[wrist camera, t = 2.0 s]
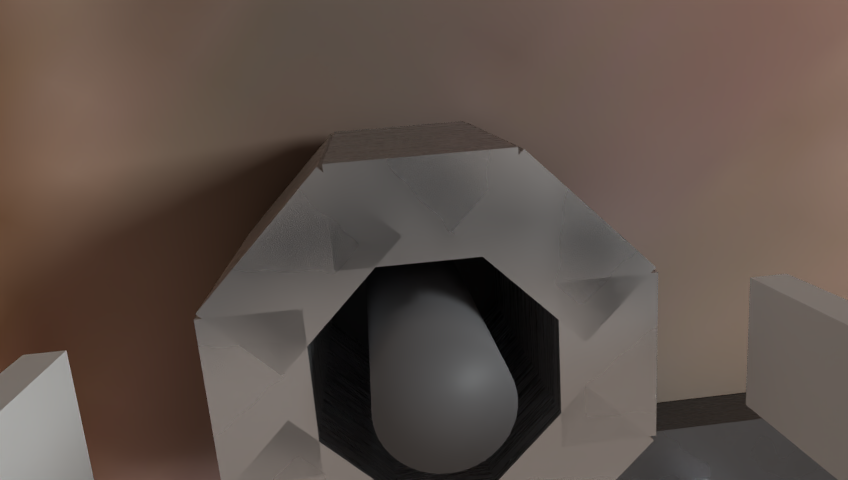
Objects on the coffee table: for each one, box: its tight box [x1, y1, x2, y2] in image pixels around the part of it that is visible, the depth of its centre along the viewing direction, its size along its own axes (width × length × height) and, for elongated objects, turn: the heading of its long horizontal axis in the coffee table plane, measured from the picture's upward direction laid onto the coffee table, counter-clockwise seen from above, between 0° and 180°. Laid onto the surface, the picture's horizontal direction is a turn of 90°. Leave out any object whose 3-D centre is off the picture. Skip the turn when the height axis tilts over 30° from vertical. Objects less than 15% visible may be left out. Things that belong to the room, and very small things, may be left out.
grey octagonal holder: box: [194, 121, 658, 480], centre depth 15 cm, size 8×8×6 cm
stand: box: [331, 257, 518, 474], centre depth 15 cm, size 6×6×8 cm
